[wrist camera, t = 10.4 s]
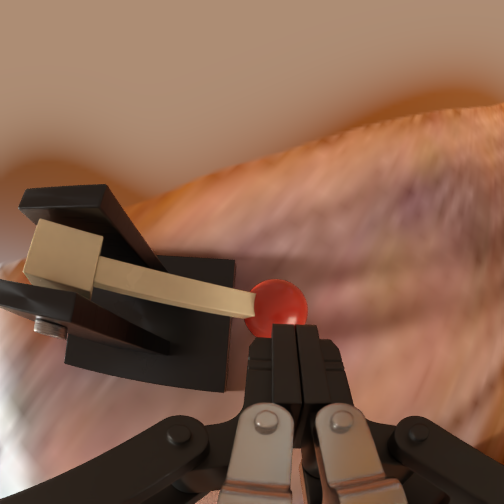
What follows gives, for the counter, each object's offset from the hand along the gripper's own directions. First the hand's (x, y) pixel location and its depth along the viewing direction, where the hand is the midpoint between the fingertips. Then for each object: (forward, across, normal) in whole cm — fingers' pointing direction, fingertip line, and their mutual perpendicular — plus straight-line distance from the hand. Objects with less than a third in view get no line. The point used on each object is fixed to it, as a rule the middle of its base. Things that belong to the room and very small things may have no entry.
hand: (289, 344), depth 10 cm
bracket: (+8, +9, +6) cm, 14 cm away
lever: (+4, +5, +1) cm, 6 cm away
